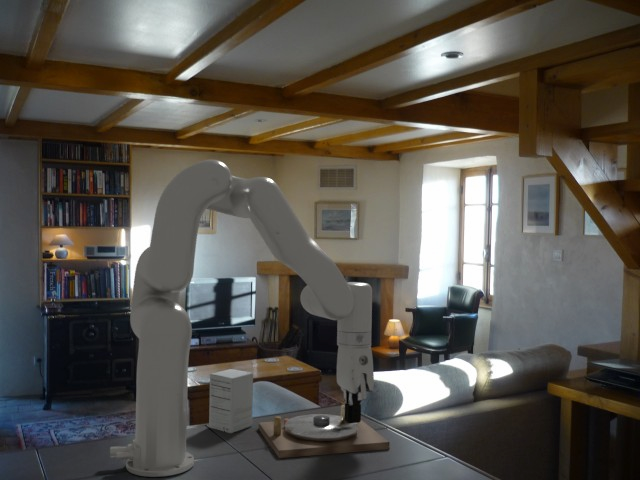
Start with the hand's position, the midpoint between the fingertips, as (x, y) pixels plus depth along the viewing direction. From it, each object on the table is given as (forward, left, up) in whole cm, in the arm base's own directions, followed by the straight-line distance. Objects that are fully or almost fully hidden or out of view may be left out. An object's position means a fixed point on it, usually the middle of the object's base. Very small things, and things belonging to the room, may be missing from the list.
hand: (352, 421), depth 140 cm
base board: (-6, +3, -4) cm, 8 cm away
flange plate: (-7, +3, -2) cm, 8 cm away
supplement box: (-24, +16, -4) cm, 29 cm away
